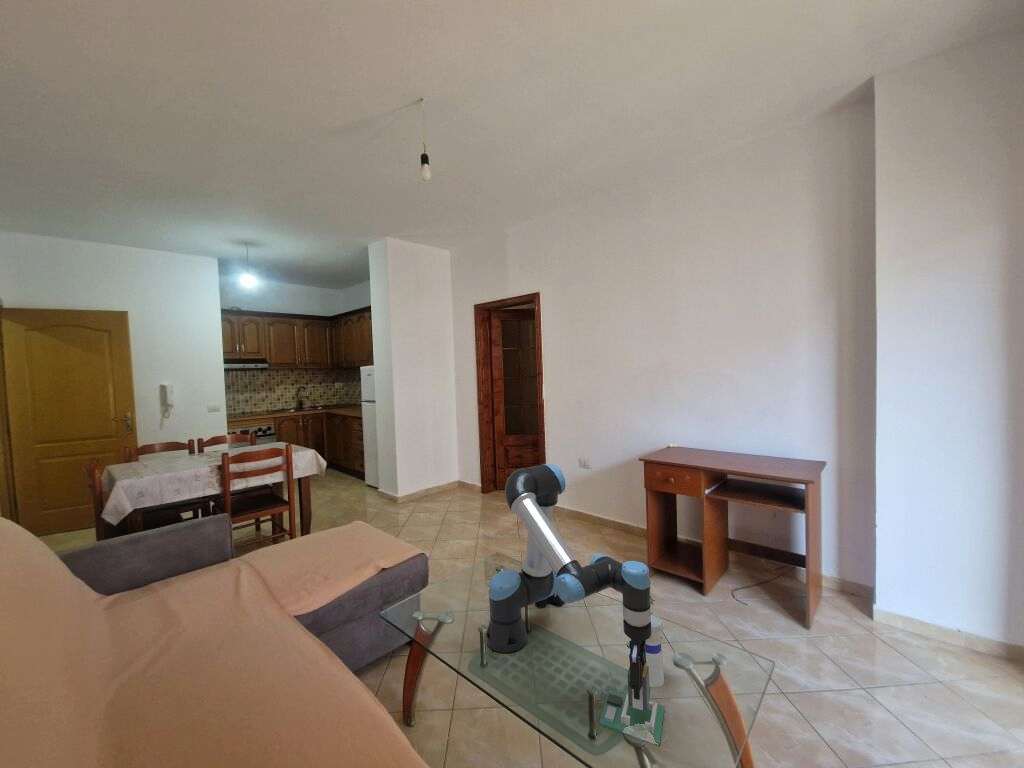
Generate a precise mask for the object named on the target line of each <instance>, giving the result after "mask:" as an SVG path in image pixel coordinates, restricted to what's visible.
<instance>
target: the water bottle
mask: <svg viewBox="0 0 1024 768" xmlns="http://www.w3.org/2000/svg"><path fill="white" fill-rule="evenodd" d="M655 601H656V599H655V598H653V597H652V596H651V595H650V605H652V606H654V602H655ZM664 628H665V625H664V623H663V621H662V618H661V617H659V615H657V614H655V613H653V614H652V615H651V637H650V638H649V639H647V640H646V664H645V665H647V666H648V667H649V688H661V687H663V685H664V684H665V671H664V655H663V654H664V653H663V650H662V642H663V637H662V635H661V632H662V630H664Z"/></svg>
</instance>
